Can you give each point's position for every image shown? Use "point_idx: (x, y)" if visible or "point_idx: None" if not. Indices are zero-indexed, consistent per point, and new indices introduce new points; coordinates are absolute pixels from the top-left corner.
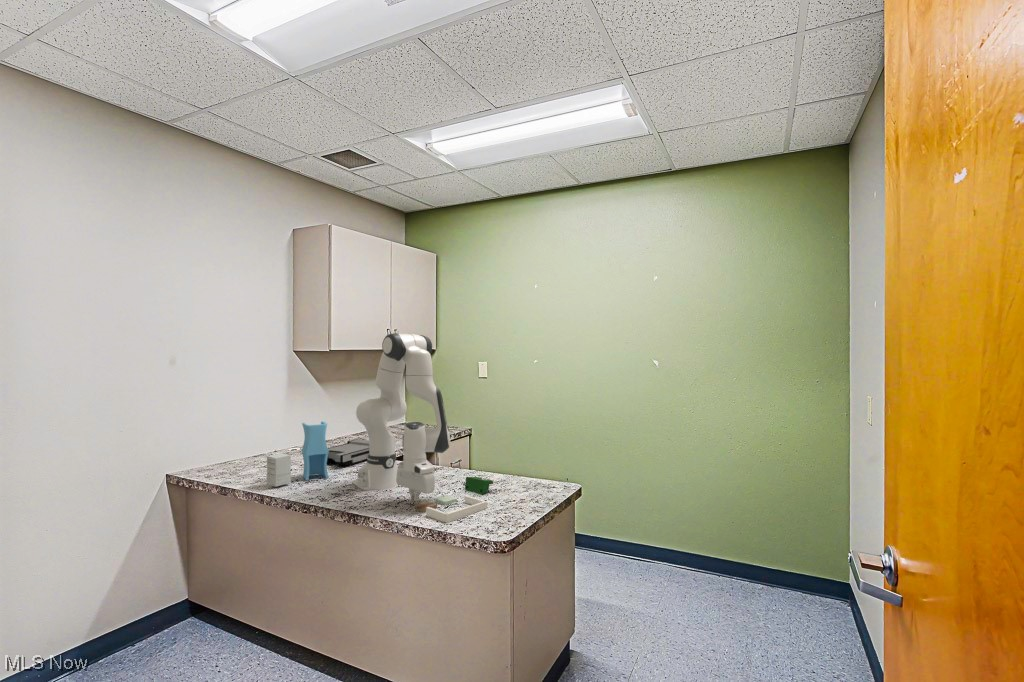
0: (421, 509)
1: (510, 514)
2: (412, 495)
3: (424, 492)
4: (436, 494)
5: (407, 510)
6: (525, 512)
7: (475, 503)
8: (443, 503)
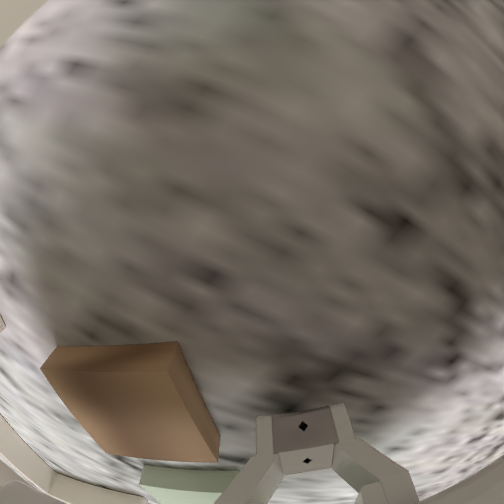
0: (79, 355)
1: None
2: (334, 452)
3: (19, 490)
4: None
5: (165, 260)
6: None
7: (84, 494)
8: (154, 476)
